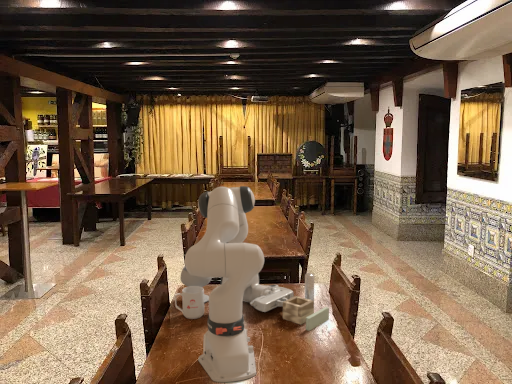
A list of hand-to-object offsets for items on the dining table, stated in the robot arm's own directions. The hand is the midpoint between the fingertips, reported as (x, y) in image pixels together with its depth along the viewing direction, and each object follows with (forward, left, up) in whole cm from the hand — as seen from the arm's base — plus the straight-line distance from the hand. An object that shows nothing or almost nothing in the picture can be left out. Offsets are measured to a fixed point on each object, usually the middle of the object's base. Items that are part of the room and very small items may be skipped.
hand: (289, 304), depth 180 cm
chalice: (+28, +35, -5) cm, 45 cm away
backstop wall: (-11, -8, -5) cm, 15 cm away
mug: (+11, +40, -5) cm, 41 cm away
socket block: (-4, -3, -5) cm, 7 cm away
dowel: (+8, -12, -5) cm, 15 cm away
